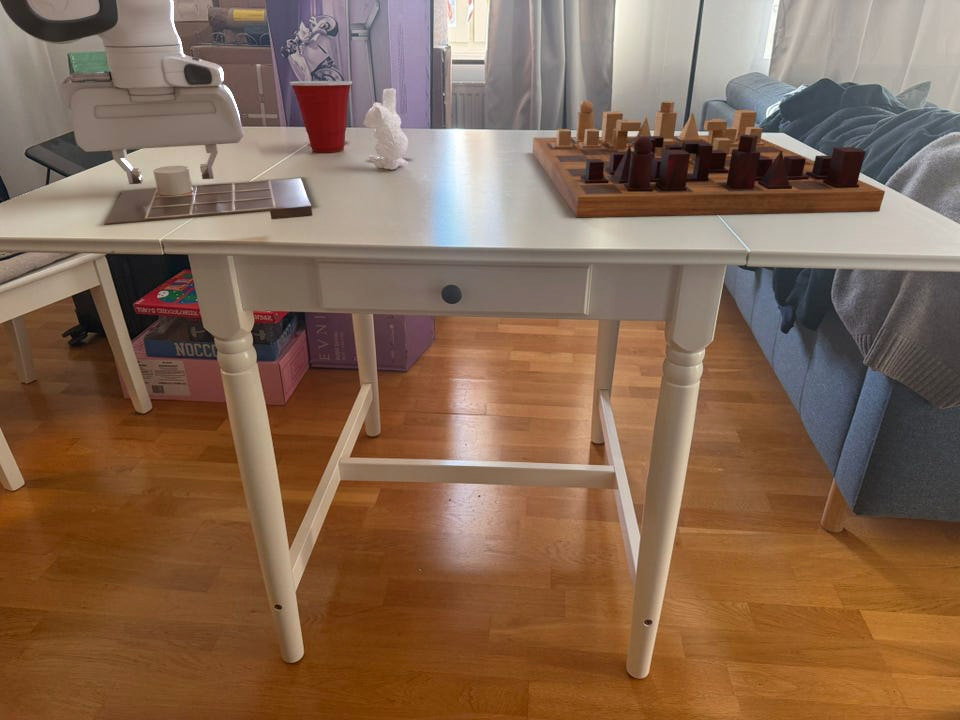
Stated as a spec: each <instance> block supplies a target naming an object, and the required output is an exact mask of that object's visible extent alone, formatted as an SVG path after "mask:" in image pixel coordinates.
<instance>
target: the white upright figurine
mask: <svg viewBox="0 0 960 720" xmlns="http://www.w3.org/2000/svg"><path fill="white" fill-rule="evenodd" d="M396 95H397V89H396V88H395V87H393V88H391V87H390V88H384V89H383V91H382V97H381V98H382V99H381V100H382V103H380V102H378V101H377V102H376V101H375V102H373V104H372V106H371V108H369V109H368V110H367V111H366V114H365V118H364V120H363V122H362V123H363V125H364V126H365V127H367V129H375V130H374V133H373V135H374V138H375V139H376V140H378V141H377V144H376V145H375V148H374V149H375V152H376V154H377V155H379V156H377V155H375V154H370V155H369V156H368V160H370V162H371V163H373V164H374V166H375V168H378V169H384V170H391V171H393V170H396V169H398V168H399V167H402V166H407V165H408V164H409V162H408V161H407V160H405V159H403V158H404V157H405V155H406V153H407V150H408V147H409V146H408V145H409V138H408V136H407V135H406V134H405V133H404V132H403V129H402V127H401V125H402V119H401V117H400V115H399V114H398V113H397V97H396Z"/></svg>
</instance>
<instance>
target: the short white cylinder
mask: <svg viewBox="0 0 960 720" xmlns="http://www.w3.org/2000/svg"><path fill="white" fill-rule="evenodd" d="M190 173H191V172H190V169H189V166H186V165H167V166H160V167H156V168H154V169H153V176H154V177H153V178H154V181H155V185H156V188H157V190H158V193H159V194H160V195H181V194H186V193H189V192H191V191H192V190H193V188H192V186H193V183H192V180H191V179H192V178H191V174H190Z"/></svg>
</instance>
